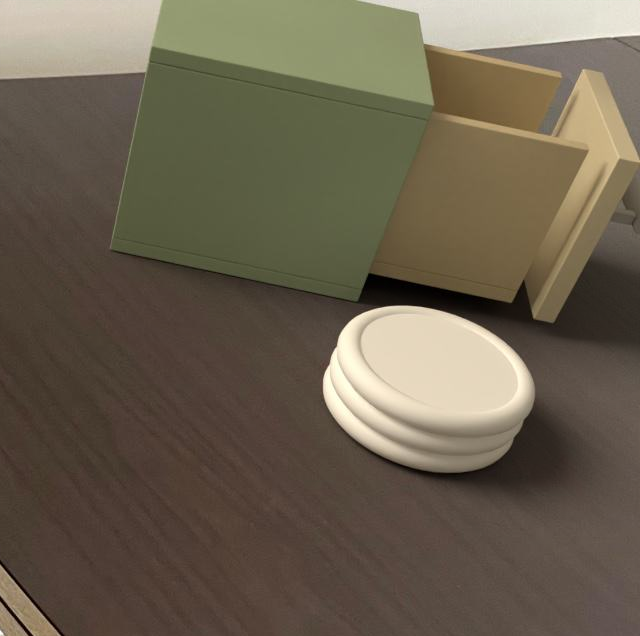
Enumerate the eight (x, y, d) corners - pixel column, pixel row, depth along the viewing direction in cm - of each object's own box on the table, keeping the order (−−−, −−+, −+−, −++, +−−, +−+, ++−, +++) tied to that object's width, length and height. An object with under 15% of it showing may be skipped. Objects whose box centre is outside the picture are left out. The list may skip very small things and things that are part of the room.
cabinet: (351, 197, 76) (418, 12, 67) (357, 302, 67) (435, 105, 58) (132, 151, 76) (171, -40, 67) (109, 250, 67) (151, 45, 59)
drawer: (583, 237, 74) (664, 85, 67) (615, 336, 67) (710, 177, 59) (321, 182, 74) (374, 24, 67) (323, 274, 67) (383, 108, 60)
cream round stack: (450, 351, 65) (476, 297, 62) (545, 471, 59) (578, 416, 56) (289, 359, 62) (309, 303, 59) (370, 485, 56) (397, 429, 53)
